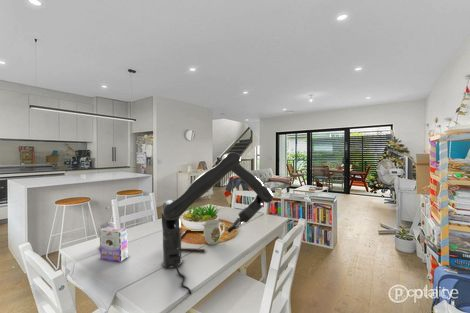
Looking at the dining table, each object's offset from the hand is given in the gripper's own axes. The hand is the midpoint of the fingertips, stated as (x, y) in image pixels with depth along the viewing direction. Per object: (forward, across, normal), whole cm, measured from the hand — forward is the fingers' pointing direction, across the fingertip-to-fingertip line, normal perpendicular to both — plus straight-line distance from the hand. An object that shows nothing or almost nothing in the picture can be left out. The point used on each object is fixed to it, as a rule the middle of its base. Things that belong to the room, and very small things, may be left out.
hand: (228, 231), depth 139 cm
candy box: (+47, +28, -36) cm, 66 cm away
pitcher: (+12, 0, -1) cm, 12 cm away
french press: (+57, +16, -46) cm, 75 cm away
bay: (+22, 0, -11) cm, 24 cm away
